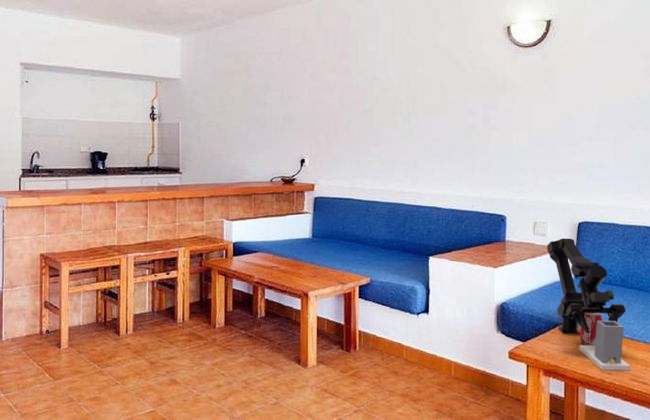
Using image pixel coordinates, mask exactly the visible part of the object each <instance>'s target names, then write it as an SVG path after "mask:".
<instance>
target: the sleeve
mask: <svg viewBox="0 0 650 420" xmlns="http://www.w3.org/2000/svg"><path fill="white" fill-rule="evenodd" d="M624 327H625V326H624V325H622V324H620V323H619V322H618V321H617V322H616V321H609V320H602V321H597V327H596V342H595V357H596V358H597V359H598V360H599V361H601V362H602V363H607V360H608V357H613V359H614V360H615V363H621V359H622V355H623V354H622V352H623V340H624V338H623V337H624Z"/></svg>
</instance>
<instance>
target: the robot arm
mask: <svg viewBox="0 0 650 420" xmlns="http://www.w3.org/2000/svg"><path fill="white" fill-rule="evenodd" d="M546 247H547V248H546V249H547V252H548V254H549V257H550V259H551V260H552V261H553V262H554V263H555V264H556V269H557V273H558V278H559V280H560V286H561V289H562V294H563V296H562V297H561V300H560V304H559V305H558V307H557V309H556V310H557V315H558V316H559V317H560V318H562V320H561V326H559V327H558V329H559V330H560V331H561V333H562V334H573V335H580V332H581V331H580V330H579V328H578V327H579V326H580V328H581V327H582V328H583V329H584V330H585V332H586V333H589V328H588V325H587V322H586V319H585V313H601V314H607V316H608V320H607V321H616V322H617V323H618V320H619V319H620V318H621V317H622V316H623V315H624V314H625V312H627V309H626V307H625V305H624V304H622V303H612V304H611V305H610V306H609V307H605V306H606V305H607V303H610V301H612V300H614V299H615V295H614V293H613V290H606V291H603V292H602V291H600V290H599V287H598V286H600V285H601V284H602V282H603V281H604V280H605V278H606V277H607V276H608V272H607V269H606V268H605V267H603V266H602V265H600V264H599V262H593V261H591V260H590V259H588V258H586V257H585V256H584V255H583V254H582V252H581V251H580V249H579V248H578V246H577V245H576V243H575V240H574V239H573V238H559V239H558V240H554V241H553V240H552V241H550V242H549V243H548V244H547V246H546ZM570 264H571V266H570ZM573 276H574V277H573ZM574 278H580V280H579V281H578V284H577V288H580V292H578V291H577V289H576V286H575V281H574Z"/></svg>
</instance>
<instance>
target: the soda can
mask: <svg viewBox="0 0 650 420" xmlns="http://www.w3.org/2000/svg"><path fill="white" fill-rule="evenodd" d="M585 319H586V322H587V325H588V328H589V333H586V332H585V330H584V329H583V328H582V327H581V326H580V331H579V332H580V334H579V335H580V337H579V338H580V342H581V344H583V345H588V346H595V342H596V327H597V321H603V316H602V313H585Z"/></svg>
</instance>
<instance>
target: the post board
mask: <svg viewBox="0 0 650 420" xmlns="http://www.w3.org/2000/svg"><path fill="white" fill-rule="evenodd" d="M578 349H579V351H581V353H583V354H584V355H585V356H586V357H587V358H588V359H589V360H590V361H591V362H592V363H594V364H595V365H596V366H597V367H598V369H599V368H600V370H602V371H603V370H604V371H630V369H631V365H630V364H628V363H627V362H626V361H624V360H623V359H622V358H621V363H615V360H614V359H613V357H608V360H607V363H602V362H601V361H599V360H598V359H597V358H596V357H595V346H588V345H585V344H583V345H582V344H580V345H579V348H578Z"/></svg>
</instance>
